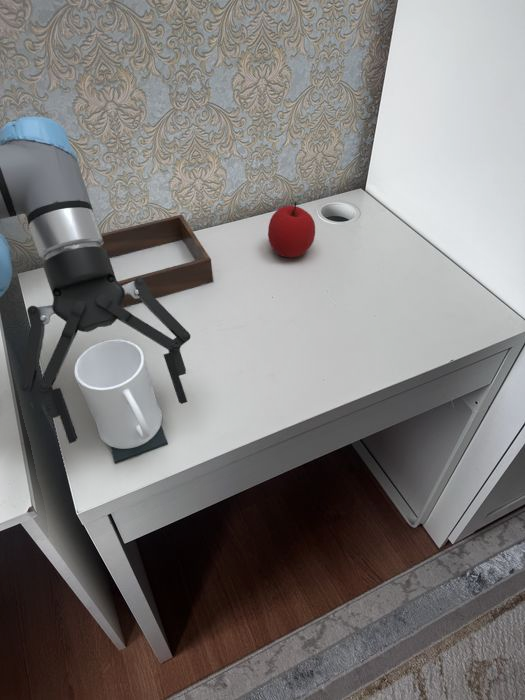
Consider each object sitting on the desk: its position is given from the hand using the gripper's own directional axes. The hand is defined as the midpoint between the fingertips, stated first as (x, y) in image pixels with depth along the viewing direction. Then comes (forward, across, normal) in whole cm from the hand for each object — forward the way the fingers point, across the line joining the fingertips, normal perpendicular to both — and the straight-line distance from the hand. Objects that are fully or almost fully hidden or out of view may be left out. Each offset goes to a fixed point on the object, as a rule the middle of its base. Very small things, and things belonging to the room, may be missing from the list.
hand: (130, 421), depth 59 cm
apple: (-18, -38, -26) cm, 50 cm away
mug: (+2, 0, -6) cm, 6 cm away
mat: (+2, 0, -6) cm, 6 cm away
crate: (-22, -11, -30) cm, 39 cm away
